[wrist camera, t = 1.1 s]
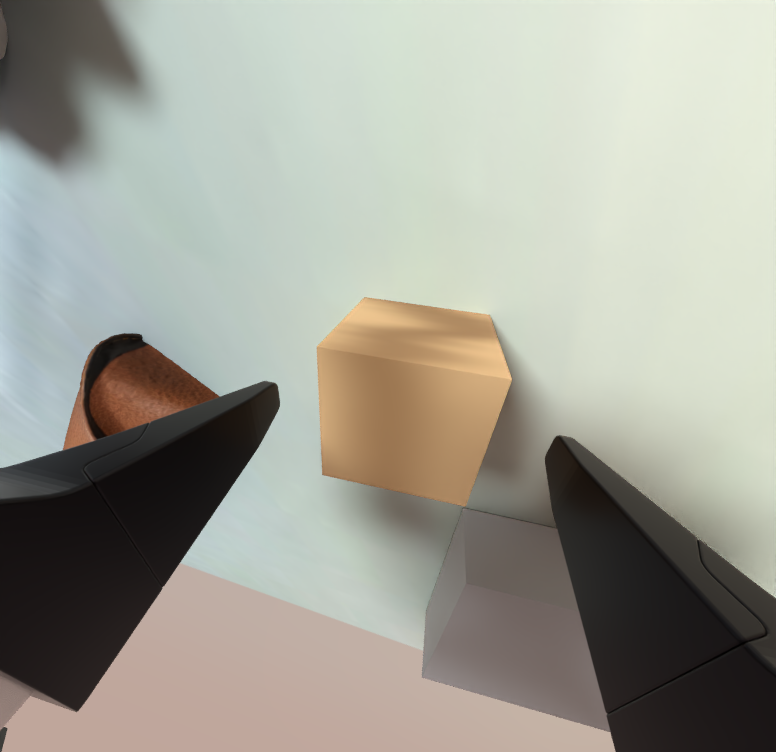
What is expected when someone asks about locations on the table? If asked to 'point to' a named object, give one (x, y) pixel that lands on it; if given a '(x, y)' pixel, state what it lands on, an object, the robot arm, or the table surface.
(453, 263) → the table surface
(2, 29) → the bunny figurine
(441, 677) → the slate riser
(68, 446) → the sunglasses case
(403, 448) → the oak cube
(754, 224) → the table surface
